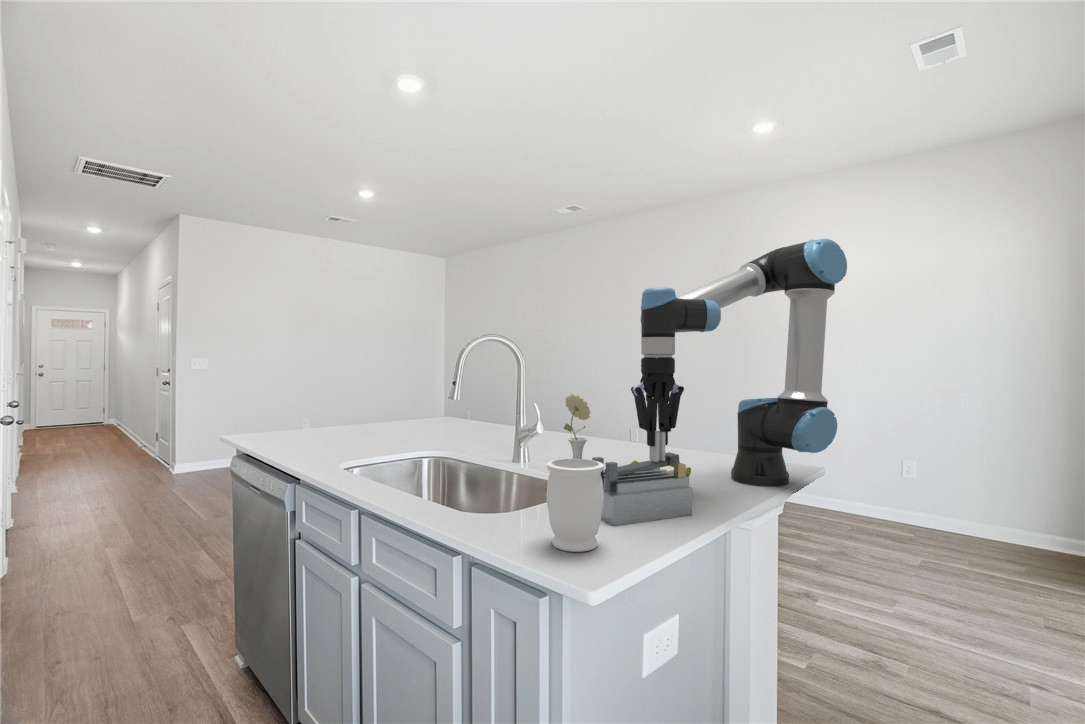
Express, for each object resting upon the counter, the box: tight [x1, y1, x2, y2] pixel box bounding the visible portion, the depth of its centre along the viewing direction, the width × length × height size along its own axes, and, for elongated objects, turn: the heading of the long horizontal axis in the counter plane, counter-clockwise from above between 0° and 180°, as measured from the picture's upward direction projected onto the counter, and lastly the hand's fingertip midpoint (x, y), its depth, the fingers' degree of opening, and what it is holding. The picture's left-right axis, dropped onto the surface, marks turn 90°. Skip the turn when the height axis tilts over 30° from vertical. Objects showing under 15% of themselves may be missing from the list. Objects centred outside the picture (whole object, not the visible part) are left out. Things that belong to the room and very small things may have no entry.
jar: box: [546, 458, 605, 553], centre depth 98 cm, size 11×10×15 cm
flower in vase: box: [563, 393, 591, 459], centre depth 136 cm, size 13×11×25 cm
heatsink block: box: [591, 456, 694, 527], centre depth 119 cm, size 20×14×12 cm
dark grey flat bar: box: [604, 451, 681, 476], centre depth 120 cm, size 18×4×2 cm, turn 113°
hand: (657, 460), depth 122 cm, fingers closed
